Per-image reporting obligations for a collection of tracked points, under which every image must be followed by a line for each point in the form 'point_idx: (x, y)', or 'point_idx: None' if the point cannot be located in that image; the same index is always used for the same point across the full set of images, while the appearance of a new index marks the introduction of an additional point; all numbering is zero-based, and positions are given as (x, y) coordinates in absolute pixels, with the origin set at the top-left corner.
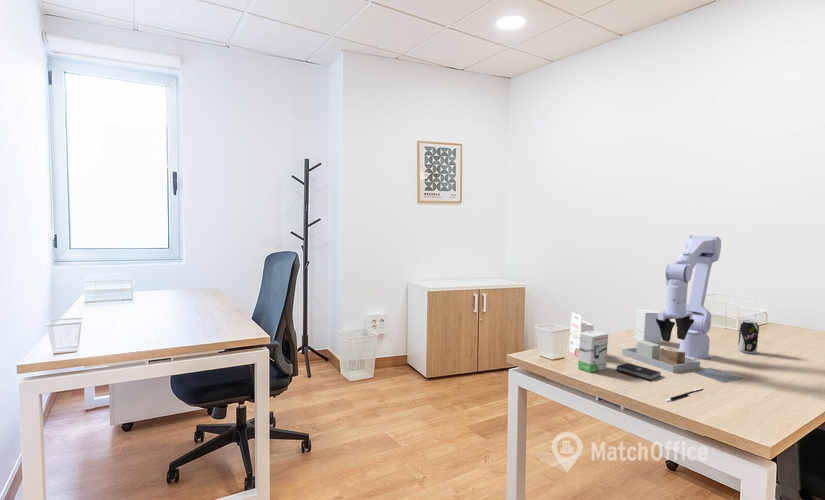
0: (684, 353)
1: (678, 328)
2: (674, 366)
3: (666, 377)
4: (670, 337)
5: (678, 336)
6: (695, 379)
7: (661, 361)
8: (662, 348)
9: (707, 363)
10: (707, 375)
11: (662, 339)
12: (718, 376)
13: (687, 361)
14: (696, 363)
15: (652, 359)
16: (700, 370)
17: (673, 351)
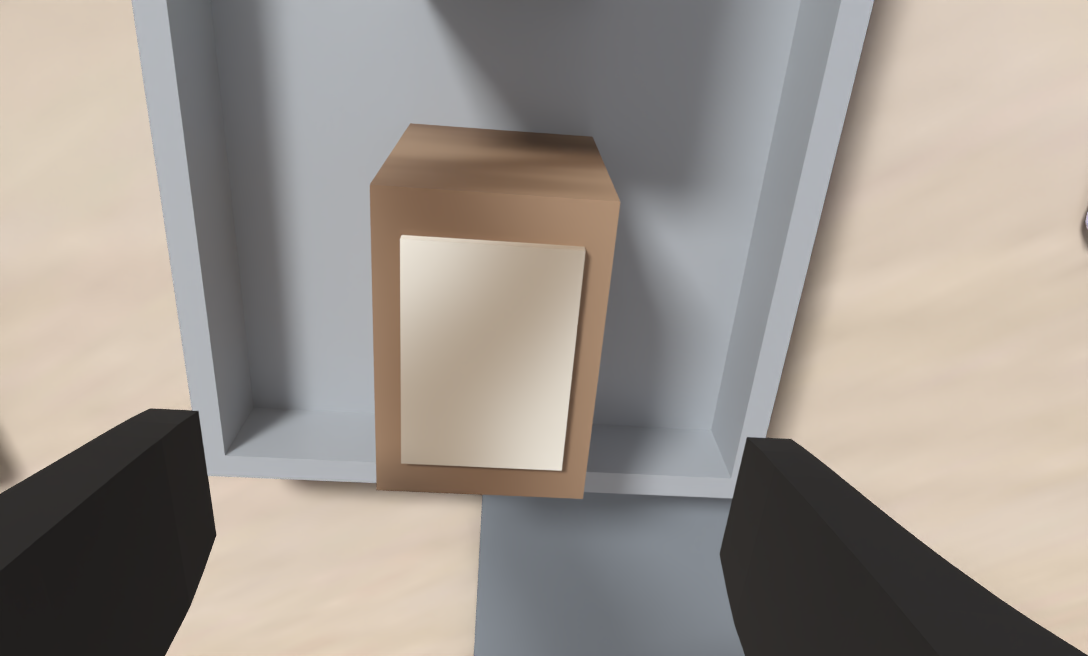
0: (560, 489)
1: (877, 639)
2: (229, 470)
3: (49, 455)
4: (169, 643)
5: (762, 484)
6: (327, 585)
7: (204, 300)
8: (423, 196)
9: (1075, 361)
10: (521, 604)
11: (132, 425)
12: (594, 651)
13: (744, 342)
14: (674, 486)
15: (158, 165)
16: (623, 505)
17: (403, 421)
